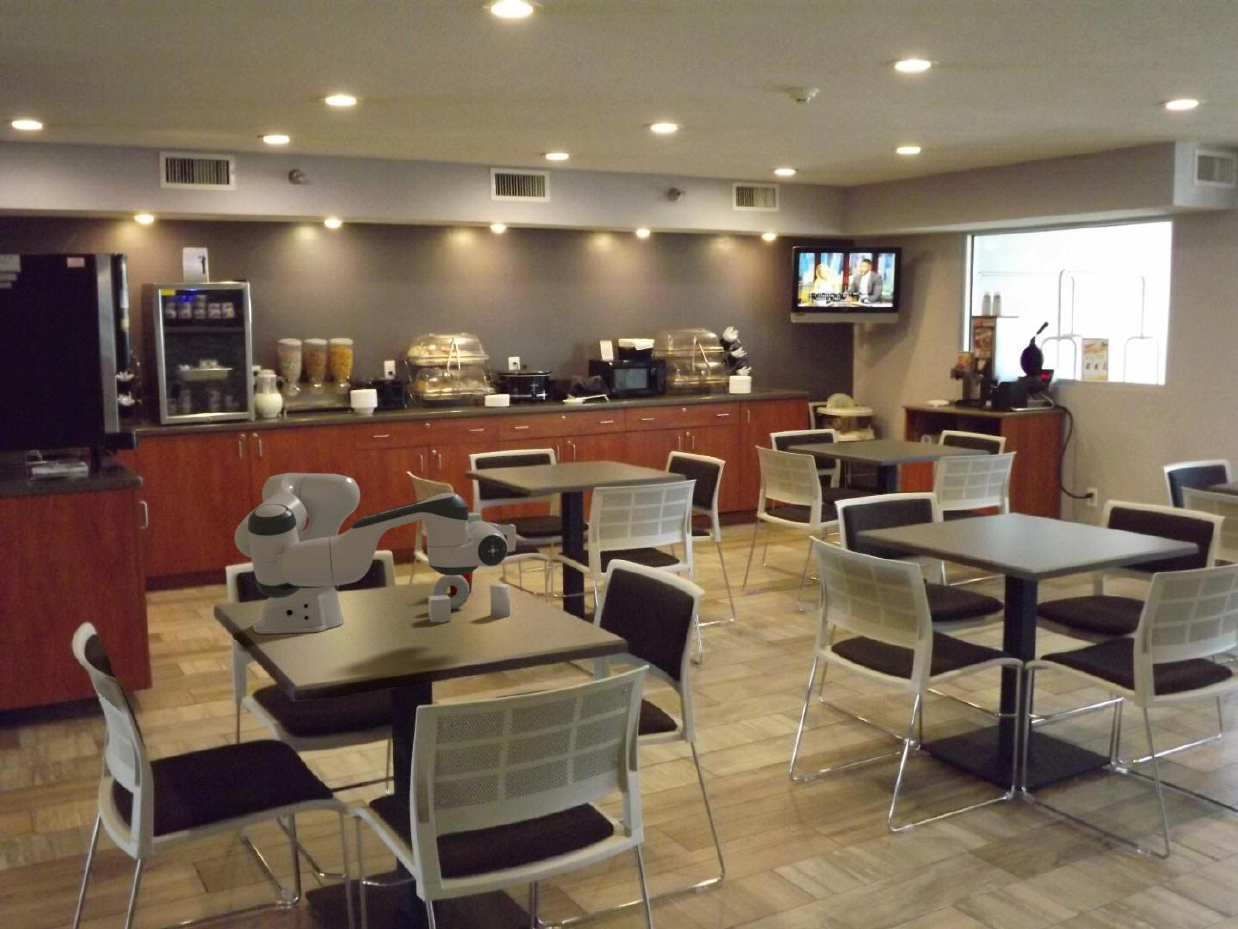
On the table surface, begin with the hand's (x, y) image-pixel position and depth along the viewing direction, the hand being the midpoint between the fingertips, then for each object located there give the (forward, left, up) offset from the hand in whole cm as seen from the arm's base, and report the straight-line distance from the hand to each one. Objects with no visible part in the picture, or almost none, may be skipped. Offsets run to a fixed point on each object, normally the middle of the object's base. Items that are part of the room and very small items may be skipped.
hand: (469, 531), depth 291 cm
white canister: (+10, +13, -25) cm, 30 cm away
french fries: (+5, +42, -25) cm, 49 cm away
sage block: (0, -1, -6) cm, 6 cm away
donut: (-1, +24, -25) cm, 35 cm away
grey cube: (-6, +13, -25) cm, 29 cm away
